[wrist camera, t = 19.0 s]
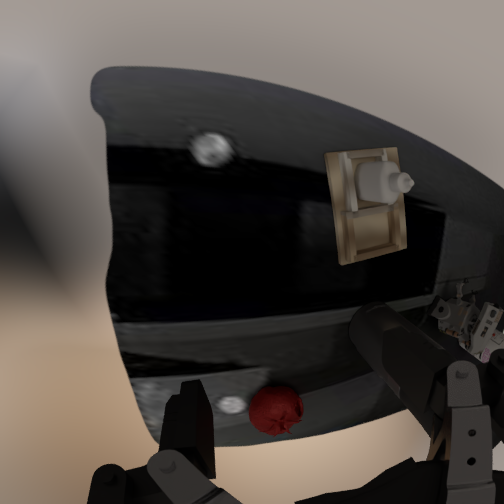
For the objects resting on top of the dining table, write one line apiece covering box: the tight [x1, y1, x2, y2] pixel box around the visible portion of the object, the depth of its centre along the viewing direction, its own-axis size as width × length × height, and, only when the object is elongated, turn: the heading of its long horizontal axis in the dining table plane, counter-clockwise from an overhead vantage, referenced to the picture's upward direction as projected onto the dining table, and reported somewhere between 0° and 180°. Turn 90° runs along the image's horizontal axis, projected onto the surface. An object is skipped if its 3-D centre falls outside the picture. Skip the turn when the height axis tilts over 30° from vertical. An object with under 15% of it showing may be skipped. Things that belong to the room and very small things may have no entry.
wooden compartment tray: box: [324, 147, 407, 265], centre depth 39 cm, size 17×13×3 cm
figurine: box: [427, 278, 503, 354], centre depth 41 cm, size 9×12×15 cm
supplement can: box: [459, 329, 504, 363], centre depth 45 cm, size 8×8×15 cm
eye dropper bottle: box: [354, 161, 414, 203], centre depth 33 cm, size 4×6×12 cm
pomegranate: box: [249, 386, 303, 437], centre depth 43 cm, size 10×10×9 cm
